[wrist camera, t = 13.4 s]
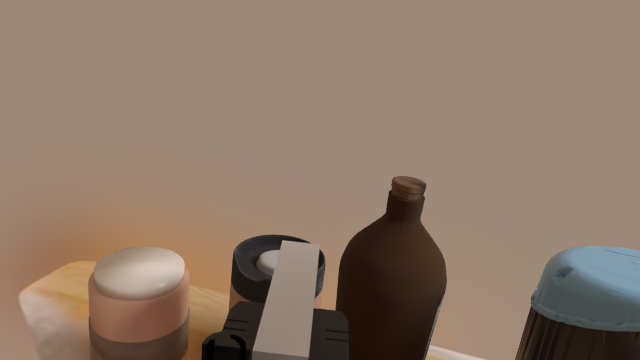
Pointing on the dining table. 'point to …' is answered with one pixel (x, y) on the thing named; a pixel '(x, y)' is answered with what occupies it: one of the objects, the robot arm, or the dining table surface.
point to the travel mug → (263, 269)
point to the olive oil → (392, 281)
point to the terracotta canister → (139, 306)
